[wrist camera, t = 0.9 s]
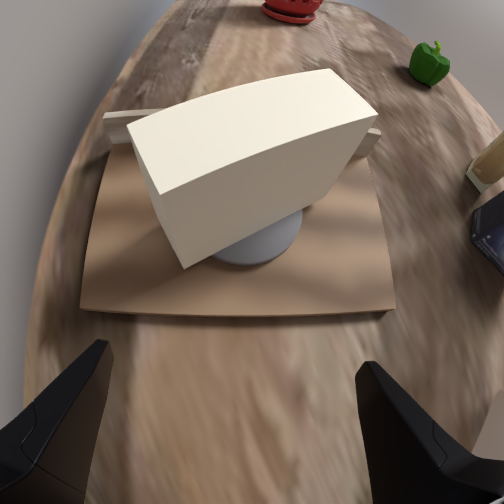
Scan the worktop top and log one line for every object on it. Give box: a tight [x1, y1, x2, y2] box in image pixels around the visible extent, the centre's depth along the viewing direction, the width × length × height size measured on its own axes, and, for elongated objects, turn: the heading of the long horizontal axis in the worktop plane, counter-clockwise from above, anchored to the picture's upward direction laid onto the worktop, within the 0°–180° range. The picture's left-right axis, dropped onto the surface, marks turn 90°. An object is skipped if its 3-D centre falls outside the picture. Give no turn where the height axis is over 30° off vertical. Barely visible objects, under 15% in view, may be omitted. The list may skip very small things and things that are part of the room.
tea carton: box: [127, 69, 378, 269], centre depth 20 cm, size 10×14×12 cm
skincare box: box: [466, 131, 504, 193], centre depth 30 cm, size 6×4×12 cm
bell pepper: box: [409, 41, 450, 86], centre depth 39 cm, size 8×8×10 cm
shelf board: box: [80, 109, 396, 318], centre depth 24 cm, size 18×28×6 cm, turn 91°
